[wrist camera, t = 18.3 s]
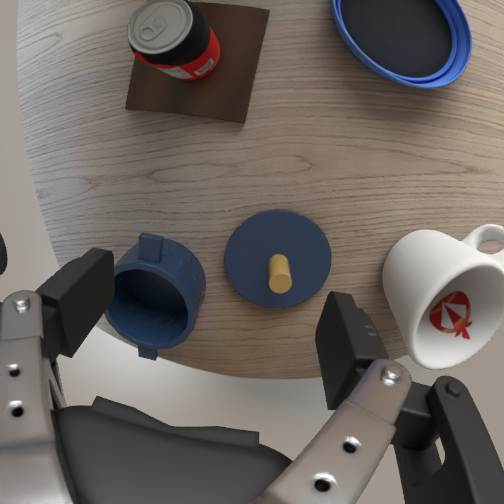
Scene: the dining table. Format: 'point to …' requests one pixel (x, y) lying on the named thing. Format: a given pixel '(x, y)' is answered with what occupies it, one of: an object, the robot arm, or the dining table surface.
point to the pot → (156, 294)
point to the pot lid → (277, 259)
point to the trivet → (216, 81)
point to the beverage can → (173, 38)
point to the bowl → (407, 38)
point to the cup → (445, 294)
